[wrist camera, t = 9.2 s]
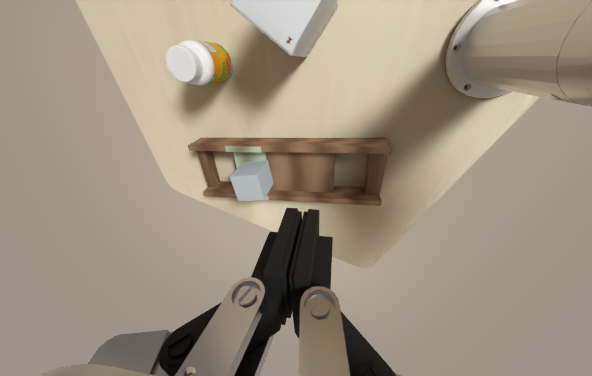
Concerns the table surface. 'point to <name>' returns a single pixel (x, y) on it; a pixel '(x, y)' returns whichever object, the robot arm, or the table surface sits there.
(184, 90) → the table surface
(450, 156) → the table surface
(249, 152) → the box
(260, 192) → the block
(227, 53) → the supplement bottle
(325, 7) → the supplement box
